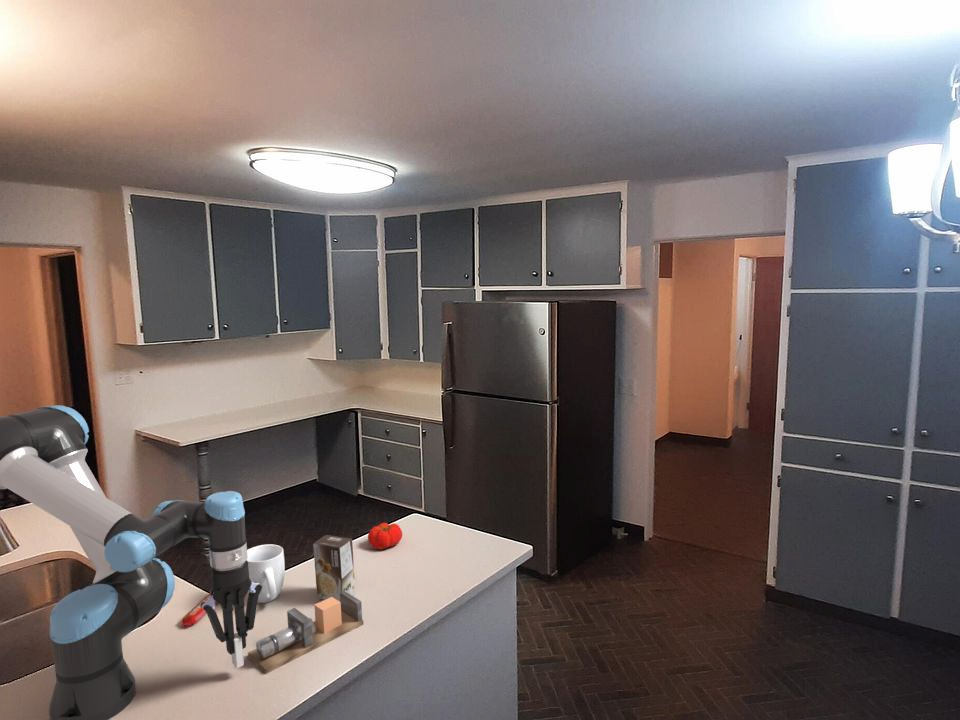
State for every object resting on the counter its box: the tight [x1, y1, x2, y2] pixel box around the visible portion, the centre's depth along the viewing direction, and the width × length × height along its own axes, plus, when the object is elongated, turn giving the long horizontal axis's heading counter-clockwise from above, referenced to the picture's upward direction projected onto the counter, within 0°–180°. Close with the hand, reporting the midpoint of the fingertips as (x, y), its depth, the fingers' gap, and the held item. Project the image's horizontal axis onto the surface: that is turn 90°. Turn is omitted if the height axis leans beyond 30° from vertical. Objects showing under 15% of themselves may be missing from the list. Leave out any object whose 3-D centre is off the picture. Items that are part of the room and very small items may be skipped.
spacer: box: [313, 597, 342, 633], centre depth 147 cm, size 5×4×6 cm
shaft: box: [255, 617, 316, 659], centre depth 139 cm, size 13×4×4 cm, turn 136°
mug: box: [247, 543, 286, 604], centre depth 161 cm, size 15×11×13 cm
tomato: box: [367, 522, 403, 550], centre depth 195 cm, size 10×11×6 cm
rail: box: [247, 591, 364, 674], centre depth 143 cm, size 26×9×7 cm, turn 136°
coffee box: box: [312, 534, 356, 602], centre depth 163 cm, size 9×6×16 cm
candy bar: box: [180, 592, 219, 627], centre depth 157 cm, size 16×4×3 cm, turn 174°
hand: (237, 663), depth 131 cm, fingers closed
